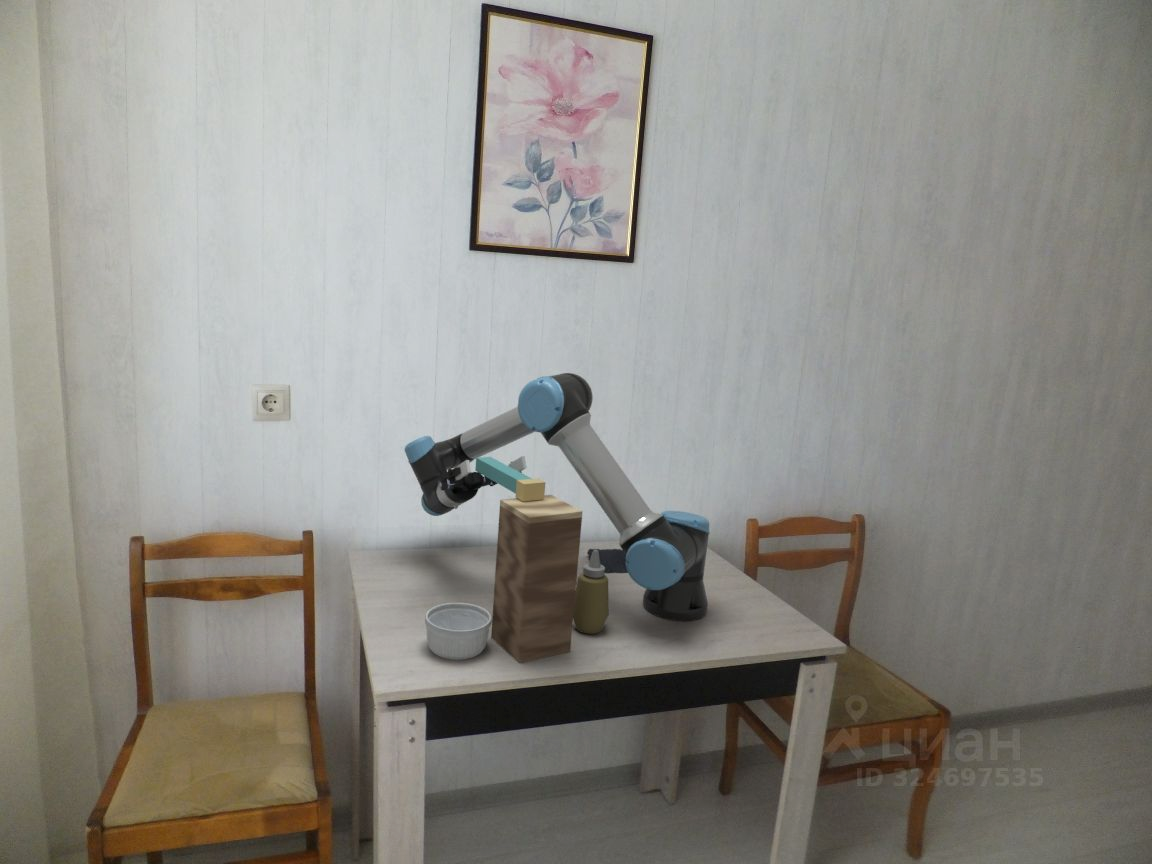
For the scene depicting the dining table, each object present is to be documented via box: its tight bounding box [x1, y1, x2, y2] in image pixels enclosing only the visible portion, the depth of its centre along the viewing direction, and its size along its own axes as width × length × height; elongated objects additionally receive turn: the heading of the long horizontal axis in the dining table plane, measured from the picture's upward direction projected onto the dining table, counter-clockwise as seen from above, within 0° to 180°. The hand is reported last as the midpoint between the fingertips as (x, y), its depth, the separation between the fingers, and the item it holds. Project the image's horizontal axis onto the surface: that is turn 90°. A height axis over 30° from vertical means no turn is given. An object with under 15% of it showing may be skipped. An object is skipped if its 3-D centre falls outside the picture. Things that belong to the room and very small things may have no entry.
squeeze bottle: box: [573, 550, 610, 635], centre depth 181 cm, size 8×8×18 cm
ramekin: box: [424, 602, 492, 661], centre depth 169 cm, size 13×13×7 cm
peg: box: [474, 456, 546, 501], centre depth 178 cm, size 23×5×4 cm, turn 33°
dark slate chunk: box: [587, 548, 629, 574], centre depth 225 cm, size 15×22×5 cm
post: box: [490, 494, 583, 664], centre depth 170 cm, size 12×12×30 cm
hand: (497, 464), depth 182 cm, fingers open, 13 cm apart
